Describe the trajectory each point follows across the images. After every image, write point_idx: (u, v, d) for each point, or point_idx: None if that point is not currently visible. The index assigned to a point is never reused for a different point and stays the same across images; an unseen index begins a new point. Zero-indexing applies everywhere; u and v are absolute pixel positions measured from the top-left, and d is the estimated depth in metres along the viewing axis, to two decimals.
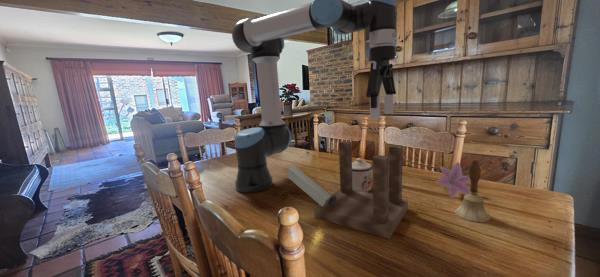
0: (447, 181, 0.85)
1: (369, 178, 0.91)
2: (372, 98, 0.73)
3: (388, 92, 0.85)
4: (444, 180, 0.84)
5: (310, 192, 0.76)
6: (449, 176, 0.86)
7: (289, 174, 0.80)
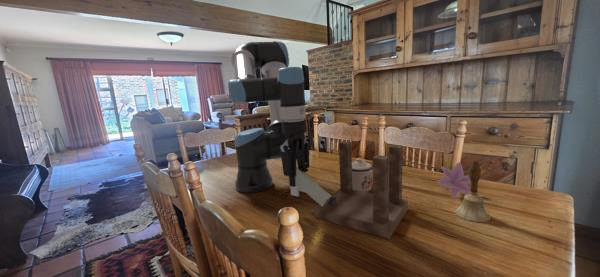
0: (449, 181, 0.84)
1: (369, 178, 0.91)
2: (290, 178, 0.77)
3: (300, 169, 0.81)
4: (445, 181, 0.84)
5: (310, 192, 0.76)
6: (450, 176, 0.86)
7: None
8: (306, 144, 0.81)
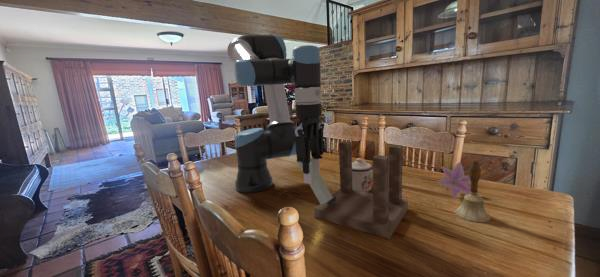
0: (449, 181, 0.84)
1: (369, 178, 0.91)
2: (304, 164, 0.73)
3: (314, 156, 0.77)
4: (446, 181, 0.84)
5: (314, 187, 0.75)
6: (451, 176, 0.86)
7: None
8: (320, 130, 0.77)
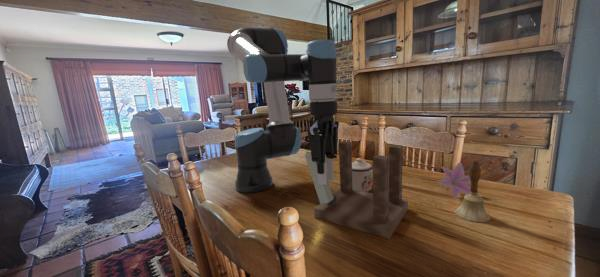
0: (449, 182, 0.84)
1: (369, 178, 0.91)
2: (318, 164, 0.70)
3: (328, 155, 0.74)
4: (446, 181, 0.84)
5: (318, 186, 0.74)
6: (451, 176, 0.86)
7: (309, 157, 0.74)
8: (335, 128, 0.74)
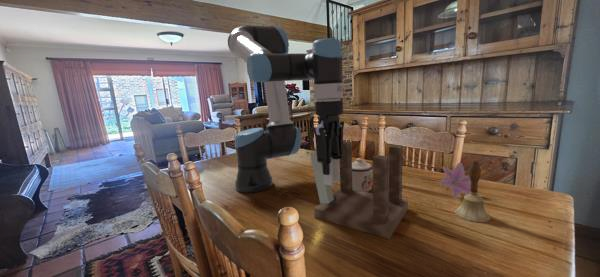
0: (450, 182, 0.84)
1: (369, 178, 0.91)
2: (324, 165, 0.69)
3: (333, 156, 0.73)
4: (447, 181, 0.83)
5: (320, 185, 0.73)
6: (452, 177, 0.86)
7: (314, 156, 0.73)
8: (340, 128, 0.73)
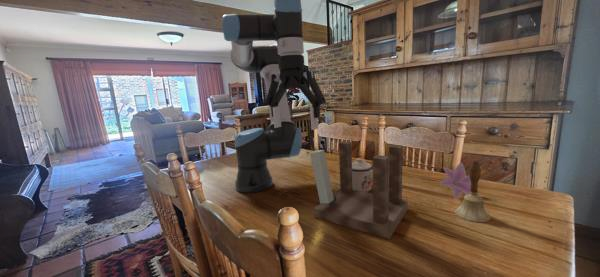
0: (451, 182, 0.84)
1: (369, 178, 0.91)
2: None
3: None
4: (448, 181, 0.83)
5: (320, 185, 0.73)
6: (453, 177, 0.85)
7: (314, 156, 0.73)
8: None
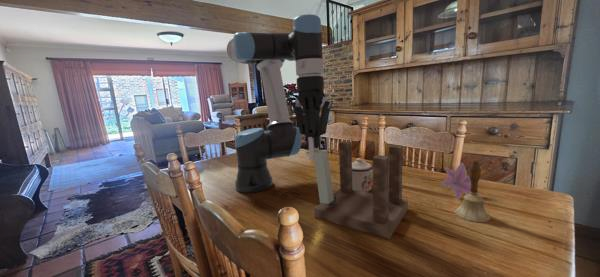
0: (452, 182, 0.83)
1: (369, 178, 0.91)
2: None
3: None
4: (449, 182, 0.83)
5: (321, 185, 0.73)
6: (454, 177, 0.85)
7: (317, 156, 0.72)
8: None
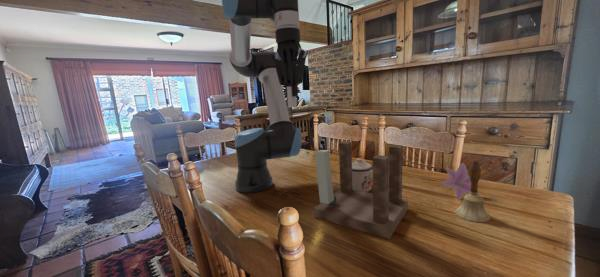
0: (453, 182, 0.83)
1: (369, 178, 0.91)
2: None
3: None
4: (450, 182, 0.83)
5: (322, 185, 0.73)
6: (455, 177, 0.85)
7: (319, 156, 0.72)
8: None
